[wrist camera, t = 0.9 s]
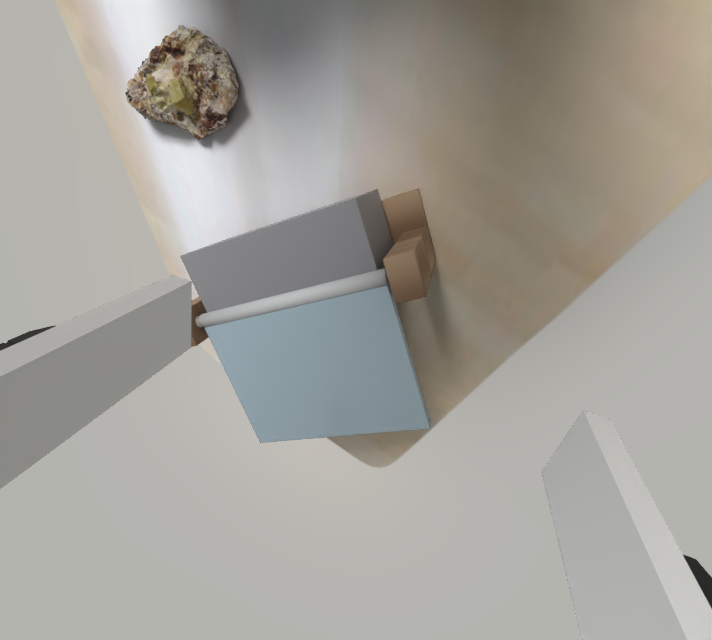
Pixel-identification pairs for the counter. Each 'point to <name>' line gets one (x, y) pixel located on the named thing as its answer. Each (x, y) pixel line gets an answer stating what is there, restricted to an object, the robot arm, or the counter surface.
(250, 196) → the counter surface
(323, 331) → the trapdoor
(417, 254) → the frame
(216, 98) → the mineral rock
